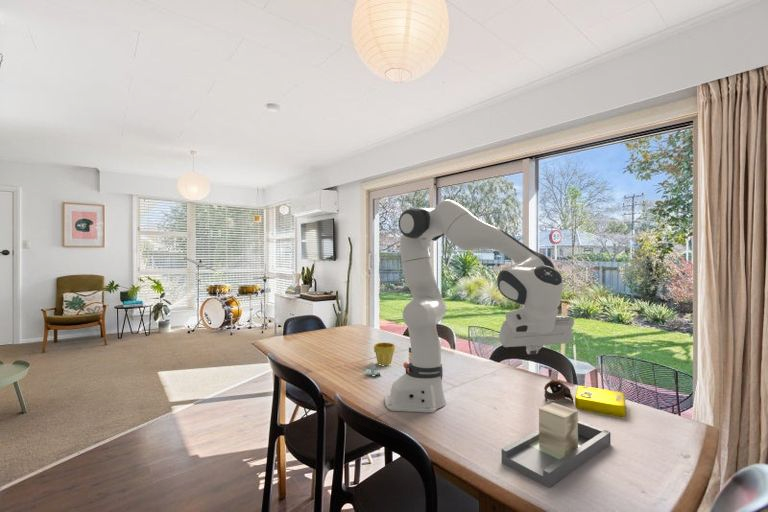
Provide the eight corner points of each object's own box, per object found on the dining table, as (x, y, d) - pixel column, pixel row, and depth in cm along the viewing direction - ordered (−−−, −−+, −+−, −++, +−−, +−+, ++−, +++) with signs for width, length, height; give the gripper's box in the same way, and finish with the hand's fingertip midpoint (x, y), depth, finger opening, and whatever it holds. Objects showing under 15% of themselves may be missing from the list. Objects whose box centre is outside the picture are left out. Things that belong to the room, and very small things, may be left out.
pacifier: (372, 372, 168) (363, 375, 163) (373, 359, 168) (364, 361, 164) (384, 375, 163) (375, 378, 158) (384, 362, 163) (375, 364, 159)
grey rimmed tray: (549, 488, 83) (549, 472, 83) (501, 462, 93) (501, 448, 93) (610, 444, 102) (610, 432, 102) (565, 427, 113) (565, 415, 113)
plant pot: (394, 367, 174) (394, 347, 174) (373, 367, 174) (373, 347, 175) (394, 361, 185) (394, 342, 185) (374, 361, 185) (374, 342, 185)
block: (564, 456, 92) (564, 417, 92) (539, 445, 98) (538, 408, 98) (577, 448, 96) (577, 410, 97) (552, 437, 102) (552, 402, 102)
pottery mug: (580, 407, 129) (572, 389, 127) (555, 417, 130) (546, 399, 128) (564, 386, 140) (557, 370, 139) (542, 396, 142) (534, 380, 140)
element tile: (625, 419, 118) (625, 405, 118) (574, 409, 126) (574, 396, 126) (624, 404, 131) (624, 391, 131) (578, 395, 139) (578, 383, 139)
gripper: (570, 308, 105) (561, 342, 112) (500, 313, 106) (495, 346, 113) (580, 323, 100) (570, 358, 107) (506, 328, 100) (501, 362, 107)
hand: (531, 352), depth 110 cm, fingers closed
